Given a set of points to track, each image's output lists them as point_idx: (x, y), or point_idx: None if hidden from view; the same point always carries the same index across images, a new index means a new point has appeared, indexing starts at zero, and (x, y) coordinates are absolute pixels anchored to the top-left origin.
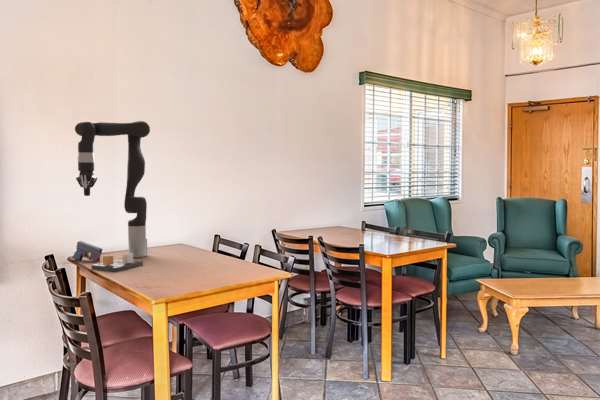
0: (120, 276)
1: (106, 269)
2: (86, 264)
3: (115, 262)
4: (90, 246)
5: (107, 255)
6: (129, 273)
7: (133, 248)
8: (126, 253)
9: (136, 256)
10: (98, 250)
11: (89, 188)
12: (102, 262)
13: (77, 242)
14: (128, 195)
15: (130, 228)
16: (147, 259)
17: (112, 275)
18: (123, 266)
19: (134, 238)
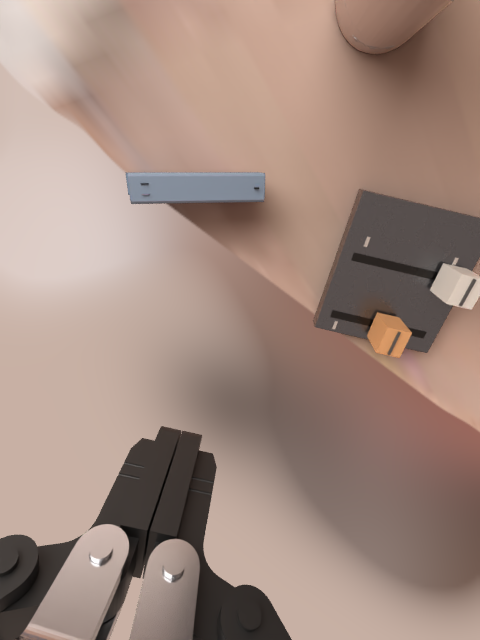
0: (459, 388)
1: None
2: (247, 257)
3: (384, 271)
4: (211, 201)
5: (394, 346)
6: (475, 352)
7: (397, 37)
8: (457, 288)
9: (398, 46)
10: (259, 201)
11: (201, 563)
12: (332, 282)
13: (132, 203)
14: None
15: None
16: (472, 77)
17: (428, 382)
18: (443, 321)
19: (433, 11)
